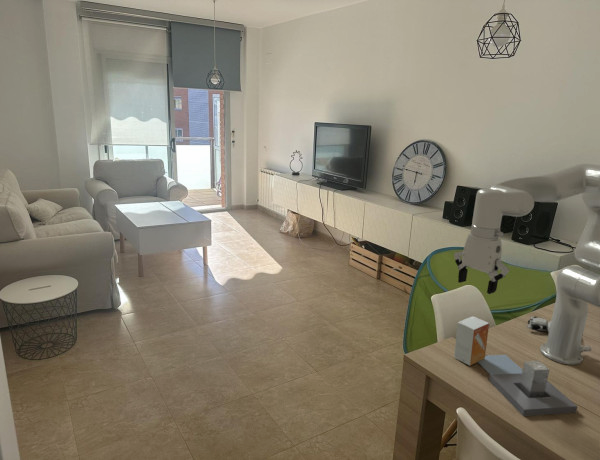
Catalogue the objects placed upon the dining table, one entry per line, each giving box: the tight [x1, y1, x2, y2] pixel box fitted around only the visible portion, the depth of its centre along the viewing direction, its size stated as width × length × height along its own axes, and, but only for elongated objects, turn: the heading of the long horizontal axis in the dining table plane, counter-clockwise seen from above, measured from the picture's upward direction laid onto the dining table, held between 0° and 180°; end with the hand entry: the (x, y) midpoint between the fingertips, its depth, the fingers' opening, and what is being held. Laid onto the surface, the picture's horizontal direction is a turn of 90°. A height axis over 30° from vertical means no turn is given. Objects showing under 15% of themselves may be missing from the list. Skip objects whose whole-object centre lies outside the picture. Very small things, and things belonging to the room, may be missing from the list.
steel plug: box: [519, 360, 551, 398], centre depth 123 cm, size 4×4×10 cm
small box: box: [453, 315, 490, 366], centre depth 141 cm, size 8×6×13 cm
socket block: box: [488, 373, 578, 417], centre depth 124 cm, size 16×16×2 cm
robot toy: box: [526, 315, 551, 333], centre depth 164 cm, size 12×4×15 cm
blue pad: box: [477, 354, 523, 376], centre depth 139 cm, size 12×12×1 cm
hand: (476, 287), depth 129 cm, fingers open, 9 cm apart
